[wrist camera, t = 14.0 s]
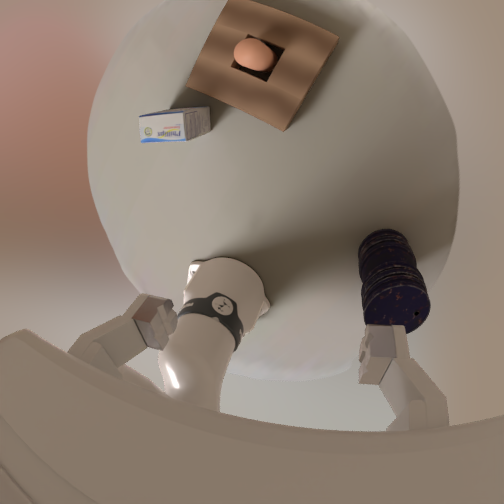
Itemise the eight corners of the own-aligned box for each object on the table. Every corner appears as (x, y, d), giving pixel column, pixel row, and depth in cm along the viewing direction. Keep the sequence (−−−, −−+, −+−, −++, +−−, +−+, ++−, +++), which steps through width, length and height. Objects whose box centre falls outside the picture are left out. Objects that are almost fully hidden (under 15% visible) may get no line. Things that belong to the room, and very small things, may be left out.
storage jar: (355, 275, 48) (357, 337, 36) (359, 227, 43) (367, 283, 31) (405, 276, 45) (420, 337, 33) (414, 229, 40) (440, 285, 28)
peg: (277, 72, 33) (266, 66, 26) (251, 72, 34) (233, 67, 27) (277, 48, 31) (266, 37, 24) (250, 49, 32) (233, 39, 25)
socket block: (287, 128, 37) (283, 131, 34) (197, 85, 37) (185, 86, 33) (338, 42, 28) (339, 36, 25) (239, 2, 27) (231, -5, 24)
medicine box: (210, 106, 38) (184, 110, 31) (211, 132, 41) (186, 142, 34) (168, 109, 40) (137, 115, 33) (169, 133, 42) (140, 144, 35)
